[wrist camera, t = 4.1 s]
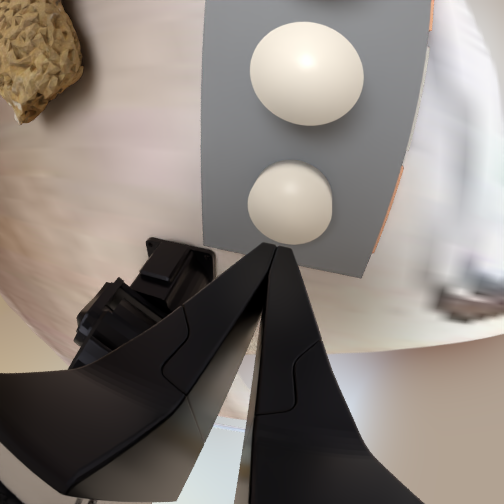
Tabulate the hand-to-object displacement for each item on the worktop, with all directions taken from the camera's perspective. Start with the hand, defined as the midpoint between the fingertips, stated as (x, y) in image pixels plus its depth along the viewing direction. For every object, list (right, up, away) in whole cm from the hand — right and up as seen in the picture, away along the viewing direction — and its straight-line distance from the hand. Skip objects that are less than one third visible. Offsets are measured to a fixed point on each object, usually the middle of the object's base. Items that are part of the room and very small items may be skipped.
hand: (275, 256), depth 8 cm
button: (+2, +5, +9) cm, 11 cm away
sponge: (-20, +21, +5) cm, 30 cm away
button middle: (+2, +9, +4) cm, 10 cm away
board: (+3, +10, +5) cm, 12 cm away
